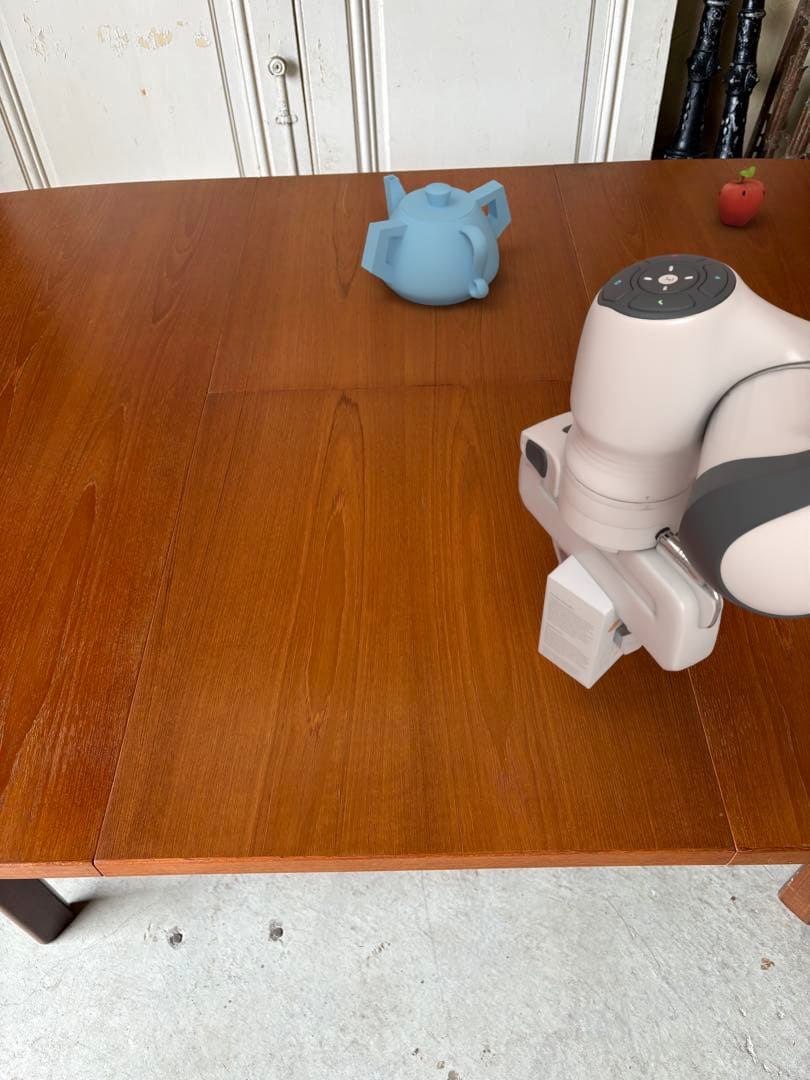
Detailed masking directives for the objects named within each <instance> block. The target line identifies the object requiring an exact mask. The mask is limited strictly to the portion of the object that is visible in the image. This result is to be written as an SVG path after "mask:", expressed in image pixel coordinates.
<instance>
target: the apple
mask: <svg viewBox="0 0 810 1080" xmlns="http://www.w3.org/2000/svg"><path fill="white" fill-rule="evenodd" d="M755 173H756V165H753V166H750V167H749V168H747V169H740V170H739V171H738V174H739V175H741V178H737V179H734V180H730V181H727V182H725V184H724V185H723V187H721V188H720V190H719V191H720V192H719V193H718V200H717V208H718V212H719V217H720V220H721V221H722V223H723V224H724V225H726V226H729V227H730V226H731V227H737V228H743V227H745V225H746V224H747V223H748V222H750V221H751V220H752V218H753V217H754V216H755V215H756V214H757V213H758V211H759V210H760V208H761V207H762V205H763V203H764V198H765V194H766V192H765V187H764V185H763V183H762V182H761V181H760V180H758V179H756V178H755V179H754V178H753V177H754V175H755Z"/></svg>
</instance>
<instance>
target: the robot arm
mask: <svg viewBox="0 0 810 1080" xmlns="http://www.w3.org/2000/svg"><path fill="white" fill-rule="evenodd" d="M581 330H582V331H581V334H580V338H579V343H578V347H577V352H576V356H575V362H574V367H573V373H572V374H573V375H572V379H571V386H570V396H569V404H570V406H569V407H570V411H567V412H564V413H561V414H558V415H556V416H553V417H550V418H548V419H545V420H543V421H540V422H538V423H536V424H533V425H532V426H530V427H527V428H525V429H523V430H522V431H521V433H520V439H519V446H520V451H521V455H520V459H519V466H518V492H519V496H520V498H521V501H522V503H523V505H524V507H525V508H526V510H528V512H529V513H530V514H531V515H532V516H533V517H534V519H535V520H536V521H537V522H538V523H539V524H540V526H541V527H542V528H543V529H544V530H545V532H546V533H547V534H548V535H549V537H551V541H552V545H553V549H554V551H555V555H556V558H557V561H558V565H557V567H558V566H559V565H560V564H561V563H562V562H563V561H564V560H566V559H567V558H568V557H569V556H570V555H573V556H574V558H575V559H576V560H577V561H578V562H579V563H580V564H581V565H582V567H583V568H584V569H585V570H586V571H587V572H588V574H589V575H590V576H591V577H592V578H593V580H594V581H595V582H596V583H597V585H598V586H599V587H600V588H601V589H602V591H603V592H604V593H605V594H606V595H607V597H608V598H609V599H610V600H611V602H612V603H613V605H614V607H615V613H616V614H617V615H618V617H619V618H620V619H621V620H622V621H623V622H624V624H625V625H626V627H624V626H622V627H620V628H618V629H616V630H615V634H614V636H615V637H614V638H613V641H614V642H615V643H616V645H617V646H618V647H619V649H620V650H621V651H622V652H623V654H622V655H624V656H626V655H629V654H631V653H633V652H635V651H637V650H639V649H640V648H641V647H642V646H643V648H644V649H645V650H646V651H647V652H648V654H650V656H651V657H652V658H653V659H654V660H655V662H656V663H657V664H658V665H659V667H661V668H662V670H665V671H669V672H679V671H682V670H685V669H687V668H690V667H692V666H694V665H696V664H698V663H699V662H702V661H704V660H705V659H706V658H707V657H709V656H711V654H712V653H713V650H714V648H715V645H716V641H717V639H718V638H717V637H718V634H719V630H720V624H721V619H722V613H723V612H722V611H723V608H724V599H726V600H727V601H728V602H730V603H731V604H733V605H735V606H737V607H739V608H741V609H743V610H746V611H748V612H751V613H753V614H757V615H760V616H763V617H767V618H772V619H783V620H798V619H806V618H807V619H808V618H810V321H809V320H806V319H804V318H801V317H799V316H796V315H795V314H792V313H790V312H788V311H785V310H783V309H781V308H780V307H778V306H776V305H774V304H773V303H770V302H769V301H768V300H765V299H764V298H762V297H761V296H759V295H758V294H757V293H756V292H754V291H753V290H752V289H751V288H750V287H749V286H748V285H747V283H745V281H743V279H742V277H741V276H740V275H739V274H738V273H737V271H735V270H734V269H733V268H732V267H731V266H729V265H727V264H726V263H724V262H722V261H719V260H717V259H715V258H712V257H709V256H704V255H697V254H691V253H689V254H688V253H671V254H663V255H657V256H653V257H648V258H645V259H643V260H641V261H638V262H635V263H632V264H630V265H628V266H626V267H624V268H622V269H621V270H620V271H618V272H617V273H615V274H614V275H612V276H611V277H610V278H609V279H608V280H607V281H606V282H605V283H604V285H603V286H602V287H601V288H600V289H599V291H598V292H597V294H596V295H595V297H594V299H593V301H592V303H591V304H590V307H589V308H588V311H587V315H586V316H585V320H584V323H583V327H582V329H581ZM678 531H679V538H678V537H677V536H676V535H675V534H676V533H677V532H678Z"/></svg>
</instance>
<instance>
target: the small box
mask: <svg viewBox="0 0 810 1080" xmlns="http://www.w3.org/2000/svg"><path fill="white" fill-rule="evenodd" d="M558 565H559V564H558ZM558 565H557V567H555V568H554V569H553V570H552V571H551V572H550V573H549V574H548V575H547V577H546V584H545V594H544V601H543V609H542V615H541V622H540V623H541V624H540V625H541V626H540V632H539V639H538V648H537V652H538V653H539V654H540V655H541V656H543V657H544V658H546V659H547V660H549V662H551V663H552V664H554V665H555V666H557V667H558V668H559V669H561V670H562V671H563V672H565V673H566V674H567V675H569V676H570V677H571V678H572V679H574V680H576V681H577V682H578V683H579V684H581V685H582V686H583V687H585V688H586V689H591V688H592V687H593V686H594V685H595V684H596V683H597V681H598V680H600V678H601V677H603V676H604V674H605V673H606V672H607V671H608V670H609V669H611V667H612V666H613V665H614V664H615V663H616V662H617V661H618V660H619V659H620V658H621V657H622V656H623V655H624V654H623V652H622V651H621V650H620V649H619V647H618V646H617V645H616V643H615V642H614V641H613V638H614V637H615V636H614V634H615V630H616V629H618V628H620V627H622V626H624V627H626V625H625V624H624V622H623V621H622V620H621V619H620V618H619V617H618V615H617V614H616V613H615V607H614V605H613V603H612V602H611V600H610V599H609V598H608V597H607V595H606V594H605V593H604V592H603V591H602V589H601V588H600V587H599V586H598V585H597V583H596V582H595V581H594V580H593V578H592V577H591V576H590V575H589V574H588V572H587V571H586V570H585V569H584V568H583V567H582V565H581V564H580V563H579V562H578V561H577V560H576V559H575V558H574V556H573V555H570V556H569V557H568V558H567V559H566V560H564V561H563V562H562V563H561V564H560V565H559V566H558Z"/></svg>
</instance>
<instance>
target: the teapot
mask: <svg viewBox="0 0 810 1080" xmlns="http://www.w3.org/2000/svg"><path fill="white" fill-rule="evenodd" d="M383 184H384V193H385V199H386V207H387V214H388V219H386V220H381V221H375V222H370V223H369V225H368V228H367V229H368V230H367V234H366V239H365V244H364V249H363V254H362V259H361V264H360V267H362V268H363V269H365V270H366V271H368V273H371V274H372V275H374V276H375V277H378V278H379V279H380V280H382V281H383V282H384V284H386V286H388V288H390V289H391V290H392V291H393V292H394V293H395V294H396V295H398V296H399V297H401V298H403V299H404V300H407V301H410V302H412V303H415V304H420V305H425V306H449V305H453V304H454V305H455V304H459V303H462V302H464V301H467V300H470V299H472V298H474V299H484V298H485V297H487V295H488V294H489V290H490V289H489V285H490V283H492V281H493V280H494V279H495V277H496V275H497V274H498V271H499V268H500V250H499V245H498V239H499V238H500V236H501V235H502V233H504V231H505V229H506V228H507V227H508V226H509V224H510V223H511V221H512V215H511V212H510V207H509V203H508V199H507V194H506V191H505V186H504V185H502V183H499V182H498V181H497V180H495V179H492V180H490V181H488V182H486V183H484V184H483V185H481V186H479V187H477V188H474V189H473V190H471V191H470V192H467V191H466V190H463V189H460V188H458V187H453V186H451V185H450V184H449V183H446V182H432V183H429V184H427V185H426V186H425V187H421V188H418V189H415V190H413V191H411V192H409V193H406V191H405V189H404V187H403V185H402V183H401V182H400V178H399V177H397V176H395V175H394V174H393V173H392V174H388V175H386V176H383ZM485 206H487V209H488V214H487V215H486V213H485V212H484V210H483V207H485Z"/></svg>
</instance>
